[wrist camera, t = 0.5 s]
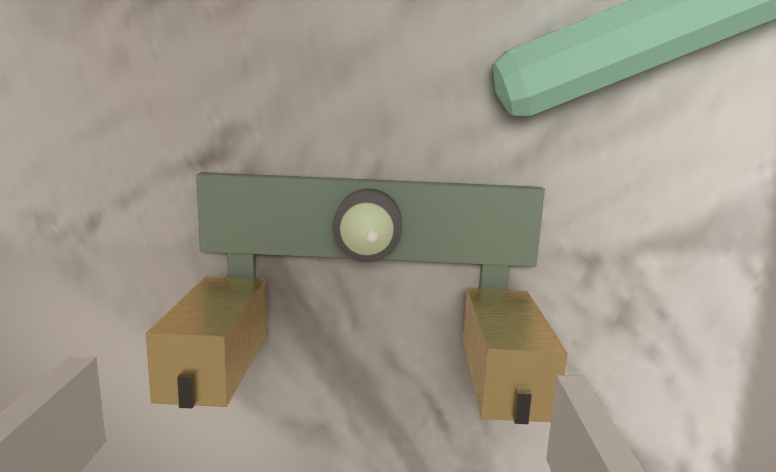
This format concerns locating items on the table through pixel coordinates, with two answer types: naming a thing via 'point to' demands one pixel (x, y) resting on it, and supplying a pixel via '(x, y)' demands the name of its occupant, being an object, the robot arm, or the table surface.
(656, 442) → the table surface
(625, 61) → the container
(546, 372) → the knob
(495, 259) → the base plate
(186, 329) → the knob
